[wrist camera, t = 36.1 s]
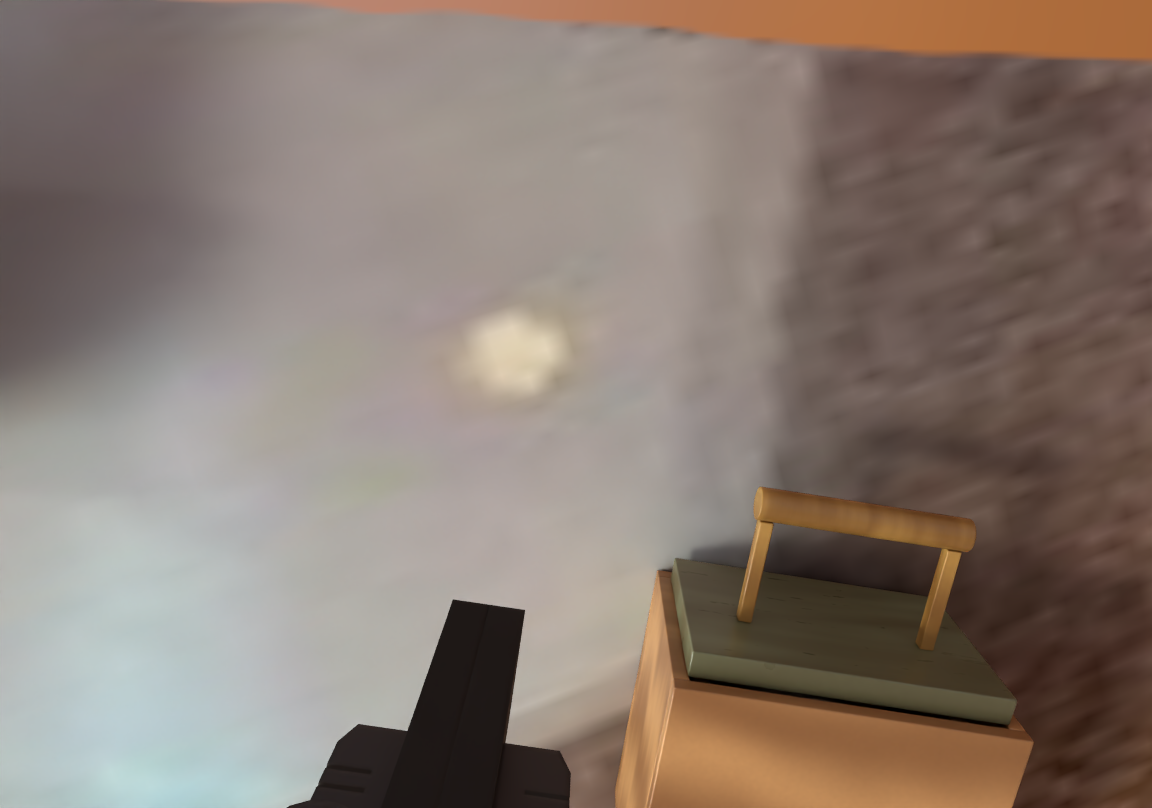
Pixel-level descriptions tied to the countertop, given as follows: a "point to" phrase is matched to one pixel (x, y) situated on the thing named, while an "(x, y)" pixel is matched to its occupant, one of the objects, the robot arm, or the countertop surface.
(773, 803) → the cabinet
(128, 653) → the countertop surface
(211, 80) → the countertop surface
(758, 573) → the drawer
